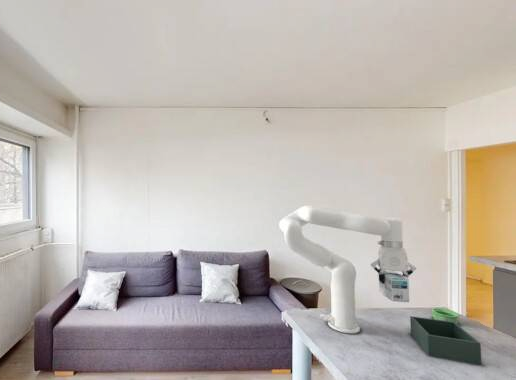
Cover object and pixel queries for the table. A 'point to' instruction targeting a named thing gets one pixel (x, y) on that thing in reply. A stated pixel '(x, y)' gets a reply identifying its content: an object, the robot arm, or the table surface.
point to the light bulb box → (395, 286)
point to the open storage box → (445, 340)
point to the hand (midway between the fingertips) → (393, 283)
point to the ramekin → (445, 315)
